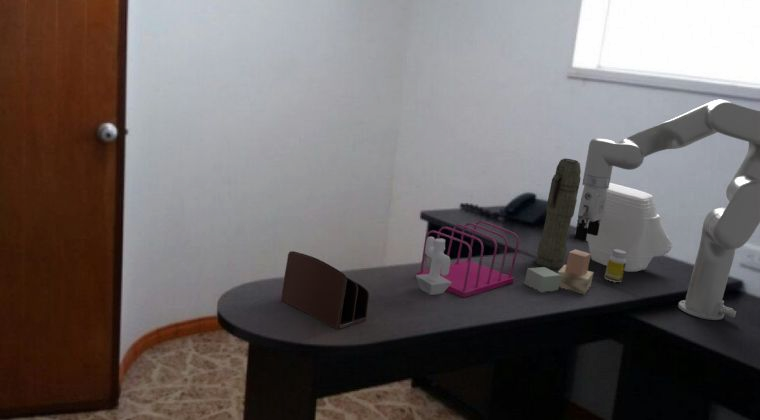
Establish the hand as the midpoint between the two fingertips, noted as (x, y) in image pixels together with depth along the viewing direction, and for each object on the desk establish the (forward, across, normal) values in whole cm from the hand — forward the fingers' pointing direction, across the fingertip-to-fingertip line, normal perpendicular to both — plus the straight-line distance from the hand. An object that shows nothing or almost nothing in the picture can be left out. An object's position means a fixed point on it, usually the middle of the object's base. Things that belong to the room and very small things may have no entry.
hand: (586, 237), depth 224 cm
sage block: (+16, -11, +7) cm, 20 cm away
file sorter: (+15, -27, +24) cm, 39 cm away
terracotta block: (+11, 0, +1) cm, 11 cm away
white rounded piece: (+17, +36, 0) cm, 40 cm away
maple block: (+16, 0, +1) cm, 16 cm away
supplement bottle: (+16, +18, -5) cm, 25 cm away
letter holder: (+14, -79, +34) cm, 87 cm away
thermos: (+16, +14, +15) cm, 26 cm away
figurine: (+14, -44, +25) cm, 52 cm away
